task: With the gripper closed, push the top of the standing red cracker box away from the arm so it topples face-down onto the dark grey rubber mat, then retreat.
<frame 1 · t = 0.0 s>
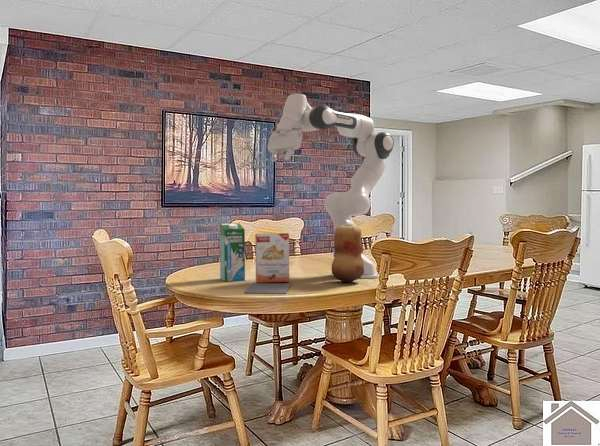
hand: (279, 160, 207), 52 cm above the table, tool tilted 20°, fingers open, 8 cm apart
milk carton: (232, 279, 221), on the table
butternut squash: (347, 282, 213), on the table
cracker box: (272, 282, 212), on the table
mat: (268, 288, 198), on the table
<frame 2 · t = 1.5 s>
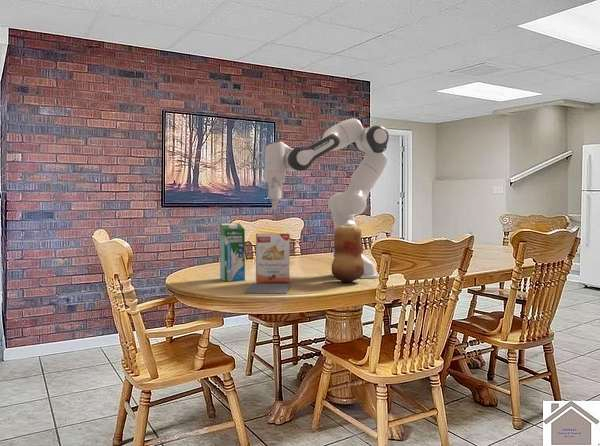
hand: (275, 209, 220), 31 cm above the table, tool pointing down, fingers open, 5 cm apart
cracker box: (272, 282, 212), on the table, touching mat
everything else where it was.
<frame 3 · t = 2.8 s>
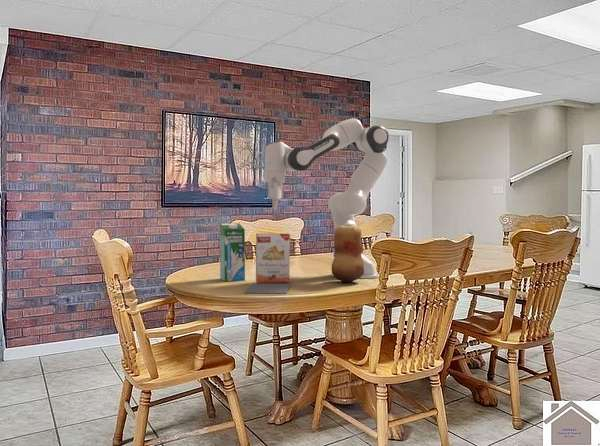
hand: (275, 209, 220), 31 cm above the table, tool pointing down, fingers closed
nothing on the table moved.
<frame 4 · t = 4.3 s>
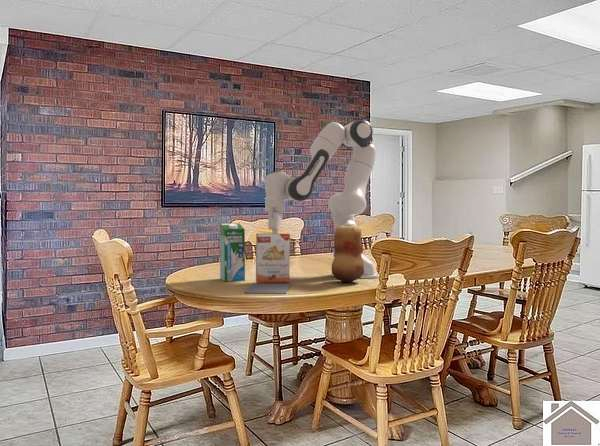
hand: (275, 238, 221), 18 cm above the table, tool pointing down, fingers closed
nothing on the table moved.
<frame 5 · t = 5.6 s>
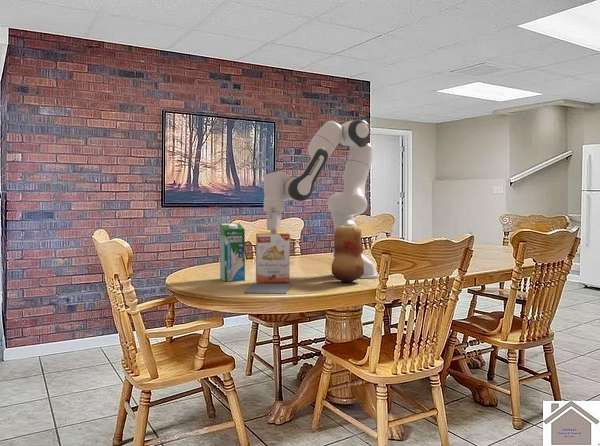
hand: (273, 239, 217), 18 cm above the table, tool pointing down, fingers closed
cracker box: (272, 282, 212), on the table, touching gripper, mat
everything else where it was.
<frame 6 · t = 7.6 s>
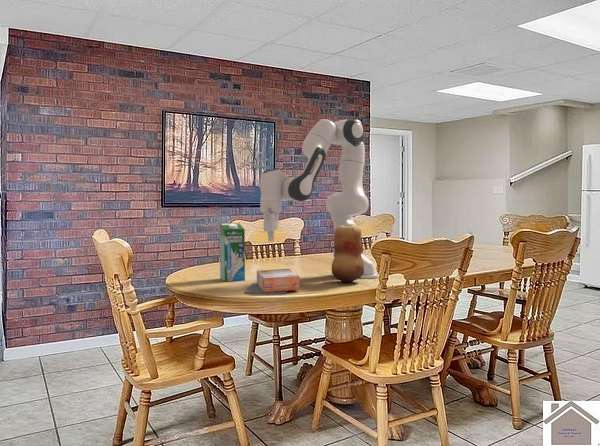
hand: (271, 241, 207), 18 cm above the table, tool pointing down, fingers closed
cracker box: (273, 276, 209), point 3 cm above the table, touching mat
everything else where it was.
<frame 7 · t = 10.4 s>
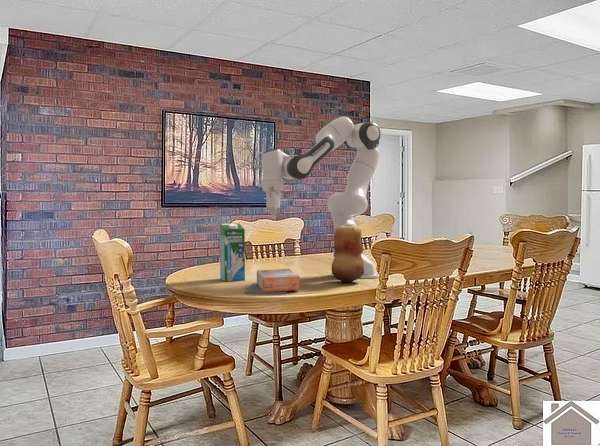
hand: (273, 219, 215), 27 cm above the table, tool pointing down, fingers closed
nothing on the table moved.
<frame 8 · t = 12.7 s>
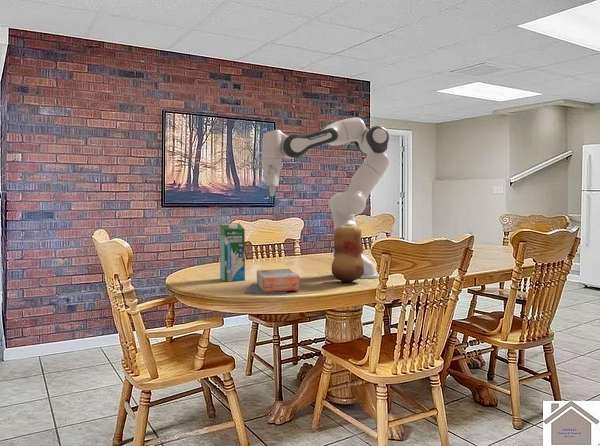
hand: (272, 196, 226), 37 cm above the table, tool pointing down, fingers closed
nothing on the table moved.
at the end: cracker box tilted 89°; cracker box inside the target area (1.6 cm from its centre), point 3.2 cm above the table; cracker box touching mat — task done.
